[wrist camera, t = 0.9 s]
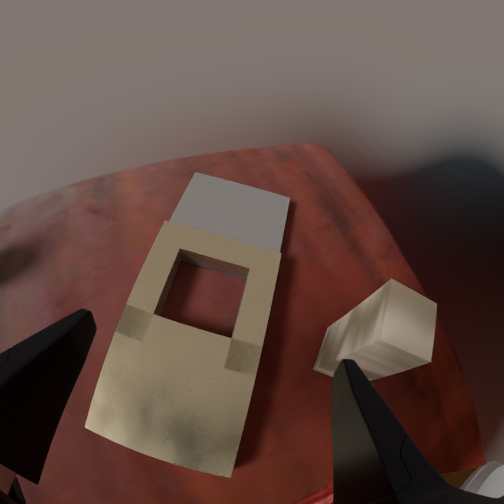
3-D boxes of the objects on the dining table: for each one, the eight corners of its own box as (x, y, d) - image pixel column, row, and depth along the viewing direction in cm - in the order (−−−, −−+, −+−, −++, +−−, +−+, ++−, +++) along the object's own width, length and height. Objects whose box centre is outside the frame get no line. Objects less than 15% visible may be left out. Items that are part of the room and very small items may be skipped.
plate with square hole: (227, 470, 17) (230, 477, 15) (95, 425, 17) (84, 427, 15) (287, 204, 34) (292, 191, 32) (195, 179, 33) (195, 165, 31)
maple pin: (352, 384, 23) (430, 361, 14) (312, 369, 23) (380, 339, 14) (364, 344, 25) (436, 303, 16) (327, 327, 26) (391, 278, 17)
